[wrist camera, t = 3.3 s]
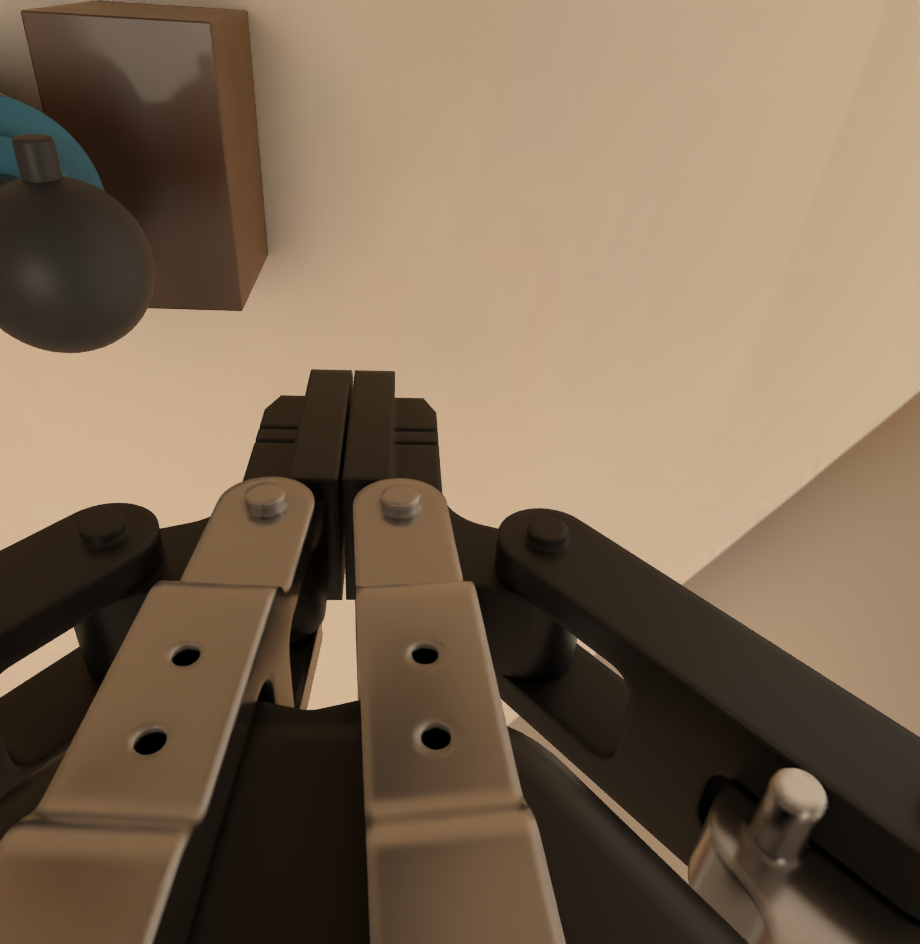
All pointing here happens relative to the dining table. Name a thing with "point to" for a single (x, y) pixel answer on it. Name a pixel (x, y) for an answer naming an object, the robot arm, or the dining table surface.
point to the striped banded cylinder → (64, 241)
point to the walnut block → (165, 133)
